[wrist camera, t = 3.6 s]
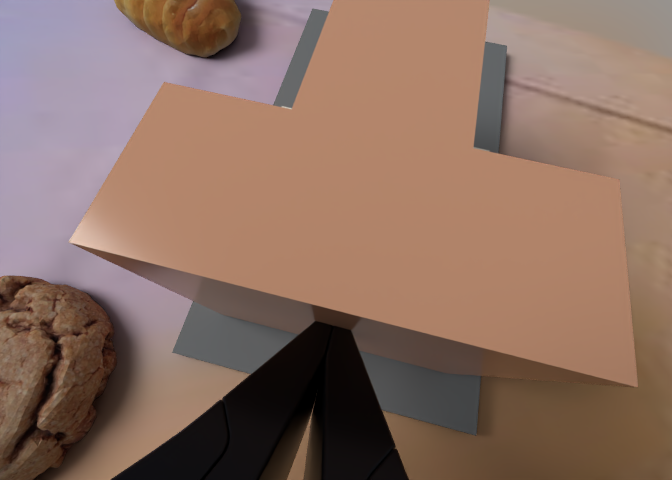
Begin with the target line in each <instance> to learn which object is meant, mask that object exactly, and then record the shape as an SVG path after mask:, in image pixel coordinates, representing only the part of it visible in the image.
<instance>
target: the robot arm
mask: <svg viewBox="0 0 672 480" xmlns="http://www.w3.org/2000/svg"><path fill="white" fill-rule="evenodd" d="M332 328H333V329H332ZM316 394H317V395H316ZM315 398H316V399H315ZM314 402H315V403H314ZM313 406H314V408H313ZM312 410H313V412H312ZM311 413H312V418H311V425H310V433H309V441H308V448H307V456H306V464H305V472H304V480H409V479H408V476H407V474H406V471H405V469H404V466H403V464H402V461H401V458H400V456H399V453H398V451H397V449H395V443H394V440H393V438H392V435H391V433H390V430H389V427H388V425H387V422H386V420H385V417H384V414H383V412H382V409H381V406H380V404H379V401H378V399H377V396H376V393H375V391H374V388H373V386H372V383H371V380H370V378H369V375H368V372H367V370H366V367H365V365H364V362H363V359H362V357H361V354H360V352H359V349H358V346H357V344H356V341H355V339H354V336H353V333H352V331H351V330H349V329H345V328H341V327H337V326H332V325H330V324H326V323H322V322H318V321H314V322H313V323H312V324H311V325H310V326H308V327H307V328H306V329H305V330H304V331H302V332H301V333H300V334H299V335H298V336H296V337H295V338H294V339H293V340H292V341H290V342H289V343H288V344H287V345H286V346H284V347H283V348H282V349H281V350H280V351H278V352H277V353H276V354H275V355H274V356H272V357H271V358H270V359H269V360H267V361H266V362H265V363H264V364H263V365H261V366H260V367H259V368H258V369H257V370H255V371H254V372H253V373H252V374H251V375H249V376H248V377H247V378H246V379H245V380H243V381H242V382H241V383H240V384H239V385H237V386H236V387H235V388H234V389H233V390H231V391H230V392H229V393H228V394H227V395H225V396H224V397H223V399H222V400H219V401H218V402H217V403H215V404H214V405H213V406H212V407H211V408H210V409H208V410H207V411H206V412H205V413H203V414H202V415H201V416H200V417H198V418H197V419H196V420H195V421H193V422H192V423H191V424H189V425H188V426H187V427H186V428H184V429H183V430H182V431H180V432H179V433H178V434H176V435H175V436H173V437H172V438H171V439H169V440H168V441H166V442H165V443H163V444H162V445H161V446H159V447H158V448H156V449H155V450H154V451H152V452H151V453H149V454H148V455H146V456H145V457H143V458H142V459H140V460H139V461H137V462H136V463H134V464H133V465H131V466H130V467H128V468H127V469H126V470H124V471H123V472H121V473H120V474H118V475H117V476H115V477H114V478H112V479H111V480H287V477H288V475H289V472H290V469H291V467H292V464H293V461H294V459H295V456H296V454H297V451H298V448H299V446H300V443H301V440H302V438H303V435H304V432H305V430H306V427H307V425H308V422H309V419H310V416H311Z"/></svg>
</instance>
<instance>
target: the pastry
mask: <svg viewBox="0 0 672 480" xmlns="http://www.w3.org/2000/svg"><path fill="white" fill-rule="evenodd" d="M114 1H115V3H116V6H117V8H118V9H119V10H120V11H121V12H122V13H123V14H124V15H125V16H126V17H127V18H128V19H129V20H130V21H131V22H132V23H134V24H135V25H136V27H138V28H139V29H141V30H143V31H145V32H146V33H147V34H149V35H151V36H153V37H154V38H155V39H157V40H159V41H161V42H163V43H165V44H167V45H169V46H171V47H173V48H175V49H177V50H179V51H181V52H183V53H185V54H193V55H198V56H201V57H208V56H210V55H214V54H215V53H216V52H218V51H219V50H220V49H222V48H224V47H226V46H228V45H229V44H231V43H232V42H233V40H234V39H235V38H236V37H237V35H238V29H239V25H240V21H241V13H240V11H239V9H238V7H237V5H236V3H235V1H234V0H114Z"/></svg>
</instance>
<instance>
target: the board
mask: <svg viewBox="0 0 672 480" xmlns="http://www.w3.org/2000/svg"><path fill="white" fill-rule="evenodd" d="M328 13H329V12H328V11H322V10H317V9H312V11H311V14H310V16H309V19H308V21H307V24H306V26H305V29H304V31H303V33H302V36H301V38H300V41H299V43H298V46H297V48H296V51H295V53H294V56H293V58H292V60H291V63H290V65H289V68H288V70H287V73H286V75H285V78H284V80H283V82H282V85H281V87H280V90H279V92H278V95H277V97H276V100H275V102H274V104H273V105H274V106H278V107H283V108H288V109H292V107H293V104H294V102H295V99H296V96H297V94H298V91H299V89H300V86H301V83H302V81H303V78H304V76H305V73H306V70H307V68H308V65H309V63H310V60H311V57H312V55H313V52H314V50H315V47H316V44H317V42H318V39H319V37H320V34H321V31H322V29H323V26H324V24H325V21H326V18H327V16H328ZM506 52H507V46H505V45H500V44H495V43H490V42H485V47H484V56H483V65H482V74H481V83H480V92H479V101H478V111H477V120H476V129H475V138H474V147H473V148H475V149H479V150H484V151H489V152H493V153H498V154H499V141H500V128H501V116H502V103H503V90H504V78H505V65H506ZM296 336H298V334H294V333H290V332H286V331H283V330H279V329H275V328H271V327H267V326H264V325H260V324H256V323H252V322H248V321H244V320H241V319H237V318H233V317H229V316H225V315H222V314H220V313H217V312H215V311H213V310H211V309H209V308H207V307H205V306H203V305H201V304H198V303H196V302H194V301H193V303H192V305H191V308H190V310H189V313H188V315H187V317H186V320H185V322H184V325H183V327H182V330H181V332H180V335H179V337H178V340H177V342H176V344H175V347H174V349H173V352H172V353H176V354H180V355H183V356H187V357H191V358H194V359H198V360H202V361H205V362H209V363H213V364H216V365H220V366H224V367H227V368H231V369H235V370H238V371H242V372H246V373H249V374H252V373H253V372H254V371H255V370H257V369H258V368H259V367H260V366H261V365H263V364H264V363H265V362H266V361H267V360H269V359H270V358H271V357H272V356H274V355H275V354H276V353H277V352H278V351H280V350H281V349H282V348H283V347H284V346H286V345H287V344H288V343H289V342H290V341H292V340H293V339H294V338H295V337H296ZM359 352H360V354H361V357H362V359H363V362H364V365H365V367H366V370H367V372H368V375H369V378H370V380H371V383H372V386H373V388H374V391H375V393H376V396H377V399H378V401H379V404H380V406H381V409H382V410H384V411H388V412H392V413H395V414H399V415H403V416H406V417H410V418H414V419H417V420H421V421H425V422H428V423H432V424H435V425H439V426H443V427H446V428H450V429H454V430H457V431H461V432H465V433H468V434H472V435H476V432H477V420H478V407H479V394H480V382H481V376H475V375H461V374H448V373H443V372H439V371H435V370H431V369H427V368H424V367H420V366H416V365H412V364H408V363H405V362H401V361H397V360H393V359H389V358H385V357H382V356H378V355H374V354H370V353H366V352H363V351H359Z"/></svg>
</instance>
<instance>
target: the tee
mask: <svg viewBox="0 0 672 480" xmlns="http://www.w3.org/2000/svg"><path fill="white" fill-rule="evenodd" d="M489 1H490V0H333V3H332V5H331V8H330V11H329V13H328V16H327V18H326V21H325V24H324V26H323V29H322V31H321V34H320V37H319V39H318V42H317V44H316V47H315V50H314V52H313V55H312V57H311V60H310V63H309V65H308V68H307V70H306V73H305V76H304V78H303V81H302V83H301V86H300V89H299V91H298V94H297V96H296V99H295V102H294V104H293V107H292V109H288V108H283V107H278V106H274V105H269V104H264V103H260V102H255V101H250V100H246V99H241V98H236V97H232V96H227V95H222V94H218V93H213V92H208V91H204V90H199V89H194V88H190V87H185V86H180V85H176V84H171V83H166V82H164V83H163V85H162V86H161V88H160V90H159V91H158V93H157V95H156V96H155V98H154V100H153V101H152V103H151V105H150V106H149V108H148V110H147V111H146V113H145V115H144V116H143V118H142V120H141V121H140V123H139V125H138V126H137V128H136V130H135V132H134V133H133V135H132V137H131V138H130V140H129V142H128V143H127V145H126V147H125V148H124V150H123V152H122V153H121V155H120V157H119V158H118V160H117V162H116V163H115V165H114V167H113V168H112V170H111V172H110V173H109V175H108V177H107V178H106V180H105V182H104V183H103V185H102V187H101V189H100V190H99V192H98V194H97V195H96V197H95V199H94V200H93V202H92V204H91V205H90V207H89V209H88V210H87V212H86V214H85V215H84V217H83V219H82V220H81V222H80V224H79V225H78V227H77V229H76V230H75V232H74V234H73V235H72V237H71V239H70V240H69V243H71V244H73V245H76V246H78V247H80V248H82V249H84V250H86V251H88V252H90V253H93V254H95V255H97V256H99V257H101V258H103V259H105V260H107V261H109V262H112V263H114V264H116V265H118V266H120V267H122V268H124V269H126V270H129V271H131V272H133V273H135V274H137V275H139V276H141V277H143V278H145V279H148V280H150V281H152V282H154V283H156V284H158V285H160V286H162V287H165V288H167V289H169V290H171V291H173V292H175V293H177V294H179V295H181V296H184V297H186V298H188V299H190V300H192V301H194V302H196V303H198V304H201V305H203V306H205V307H207V308H209V309H211V310H213V311H215V312H217V313H220V314H222V315H225V316H229V317H233V318H237V319H241V320H244V321H248V322H252V323H256V324H260V325H264V326H267V327H271V328H275V329H279V330H283V331H286V332H290V333H294V334H298V335H299V334H300V333H301V332H302V331H304V330H305V329H306V328H307V327H308V326H310V325H311V324H312V323H313V322H314V321H318V322H322V323H326V324H330V325H332V326H337V327H341V328H345V329H349V330H351V331H352V333H353V336H354V339H355V341H356V344H357V346H358V349H359V351H363V352H366V353H370V354H374V355H378V356H382V357H385V358H389V359H393V360H397V361H401V362H405V363H408V364H412V365H416V366H420V367H424V368H427V369H431V370H435V371H439V372H443V373H448V374H461V375H475V376H489V377H502V378H516V379H529V380H543V381H557V382H570V383H584V384H598V385H611V386H625V387H638V381H637V370H636V359H635V347H634V336H633V325H632V314H631V303H630V292H629V281H628V270H627V259H626V247H625V236H624V225H623V214H622V203H621V192H620V181H619V179H615V178H610V177H605V176H601V175H596V174H591V173H587V172H582V171H577V170H573V169H568V168H563V167H559V166H554V165H549V164H545V163H540V162H535V161H531V160H526V159H521V158H517V157H512V156H507V155H503V154H498V153H493V152H489V151H484V150H479V149H475V148H473V147H474V138H475V129H476V120H477V111H478V101H479V92H480V83H481V74H482V65H483V56H484V47H485V38H486V29H487V19H488V10H489ZM332 329H333V328H332Z"/></svg>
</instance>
